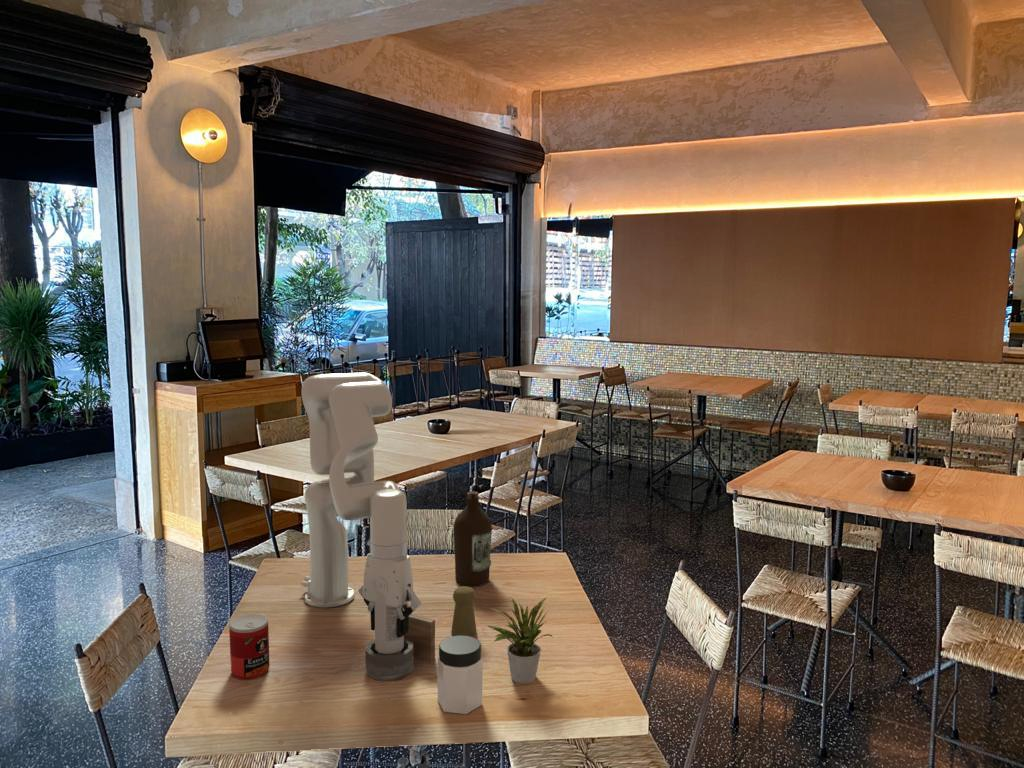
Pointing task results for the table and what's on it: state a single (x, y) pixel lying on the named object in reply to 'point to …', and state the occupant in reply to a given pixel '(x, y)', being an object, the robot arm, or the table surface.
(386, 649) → the energy drink can
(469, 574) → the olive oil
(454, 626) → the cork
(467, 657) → the jar
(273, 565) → the table surface
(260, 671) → the canned food
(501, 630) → the house plant
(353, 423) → the robot arm
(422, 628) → the cup bracket
